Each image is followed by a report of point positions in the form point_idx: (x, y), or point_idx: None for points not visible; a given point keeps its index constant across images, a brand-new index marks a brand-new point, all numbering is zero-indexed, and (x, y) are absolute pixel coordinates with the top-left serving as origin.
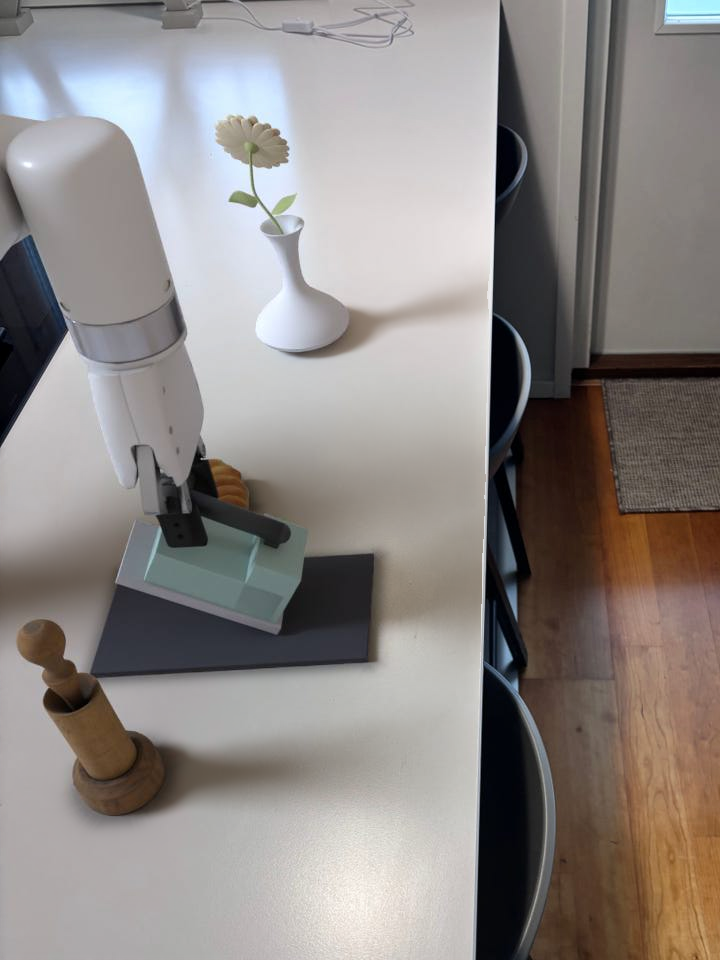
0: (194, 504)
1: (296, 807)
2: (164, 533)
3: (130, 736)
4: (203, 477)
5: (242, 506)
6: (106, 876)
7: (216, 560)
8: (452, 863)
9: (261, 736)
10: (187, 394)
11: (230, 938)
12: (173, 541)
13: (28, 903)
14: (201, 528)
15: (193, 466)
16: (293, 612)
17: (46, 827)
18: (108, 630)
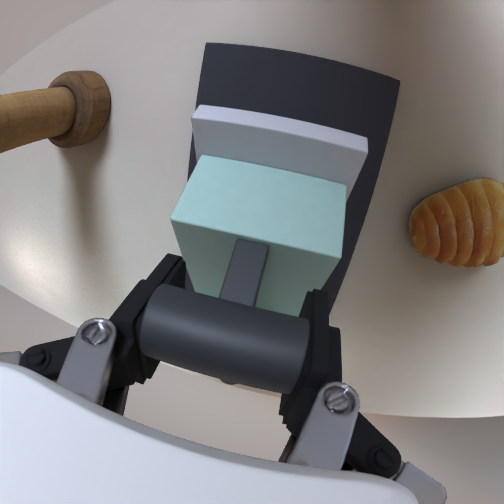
0: (141, 381)
1: (65, 242)
2: (153, 273)
3: (76, 123)
4: None
5: (436, 260)
6: None
7: (215, 279)
8: (53, 310)
9: (113, 224)
10: None
11: (8, 198)
12: (140, 282)
13: (21, 69)
14: None
15: (285, 405)
16: None
17: (58, 56)
18: (277, 56)
